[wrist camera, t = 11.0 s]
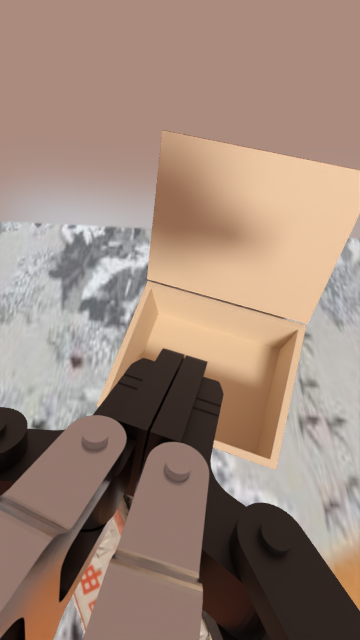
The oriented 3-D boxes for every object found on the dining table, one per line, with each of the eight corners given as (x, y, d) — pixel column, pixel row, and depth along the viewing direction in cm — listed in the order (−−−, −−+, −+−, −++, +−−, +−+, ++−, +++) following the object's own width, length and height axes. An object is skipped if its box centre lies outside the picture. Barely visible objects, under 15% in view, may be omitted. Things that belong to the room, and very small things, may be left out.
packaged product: (217, 672, 24) (96, 756, 23) (213, 635, 28) (113, 703, 27) (119, 446, 30) (19, 502, 29) (129, 444, 34) (43, 493, 33)
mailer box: (116, 412, 35) (96, 406, 28) (156, 308, 39) (147, 280, 32) (258, 463, 33) (275, 469, 26) (284, 346, 37) (306, 324, 30)
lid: (162, 130, 24) (164, 130, 25) (147, 279, 32) (149, 276, 32) (378, 174, 22) (376, 173, 22) (307, 324, 29) (307, 320, 30)
